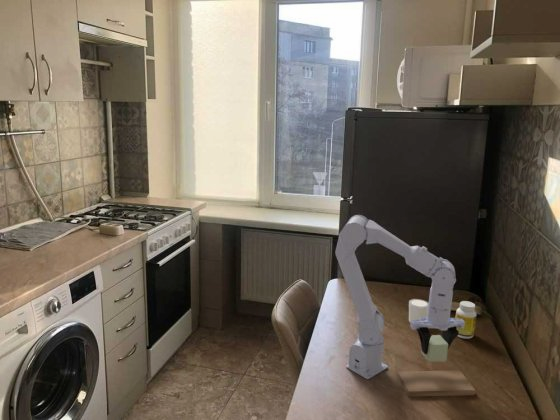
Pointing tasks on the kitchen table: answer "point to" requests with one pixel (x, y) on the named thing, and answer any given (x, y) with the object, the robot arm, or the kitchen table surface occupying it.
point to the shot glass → (417, 309)
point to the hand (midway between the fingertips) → (434, 351)
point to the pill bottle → (466, 319)
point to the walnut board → (435, 383)
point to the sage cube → (436, 349)
